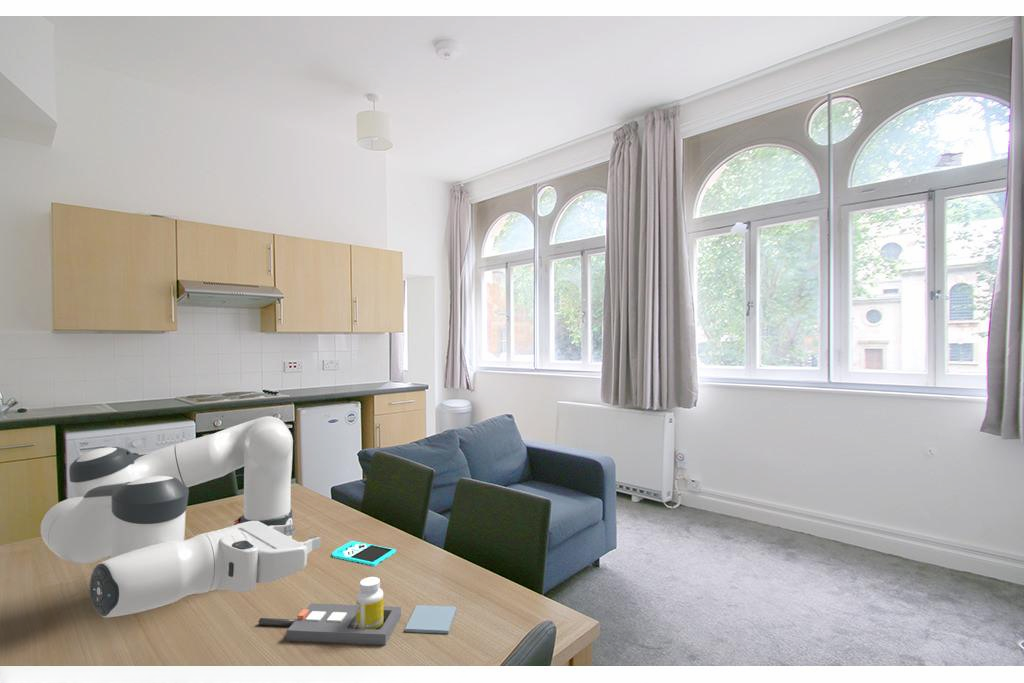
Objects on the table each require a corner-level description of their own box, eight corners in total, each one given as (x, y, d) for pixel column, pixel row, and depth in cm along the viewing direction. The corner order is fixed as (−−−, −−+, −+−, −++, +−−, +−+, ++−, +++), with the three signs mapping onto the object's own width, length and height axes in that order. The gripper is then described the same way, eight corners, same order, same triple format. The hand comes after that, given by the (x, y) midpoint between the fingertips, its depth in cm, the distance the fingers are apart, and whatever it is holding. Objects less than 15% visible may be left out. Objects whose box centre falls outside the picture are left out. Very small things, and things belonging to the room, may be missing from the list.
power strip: (245, 638, 96) (245, 624, 96) (273, 611, 106) (273, 598, 106) (385, 644, 94) (385, 630, 94) (400, 616, 104) (401, 603, 104)
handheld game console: (352, 544, 143) (352, 539, 143) (397, 553, 137) (397, 548, 137) (327, 557, 134) (327, 553, 134) (374, 568, 128) (374, 563, 128)
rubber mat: (404, 631, 98) (404, 628, 98) (416, 607, 107) (416, 605, 107) (448, 633, 98) (448, 630, 98) (456, 609, 107) (456, 606, 107)
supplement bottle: (388, 624, 101) (388, 577, 101) (373, 639, 96) (373, 589, 96) (366, 619, 103) (366, 573, 103) (350, 633, 98) (350, 585, 98)
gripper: (200, 558, 85) (279, 538, 96) (249, 597, 72) (334, 567, 83) (201, 522, 85) (280, 505, 96) (251, 554, 72) (336, 530, 83)
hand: (306, 534), depth 89 cm, fingers open, 8 cm apart
